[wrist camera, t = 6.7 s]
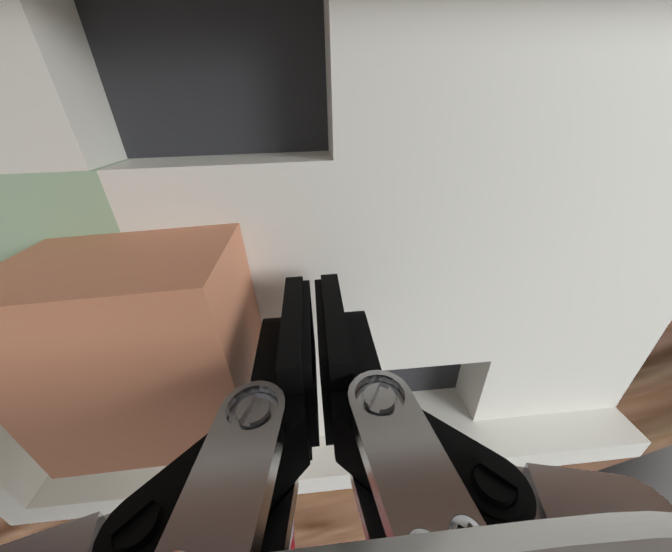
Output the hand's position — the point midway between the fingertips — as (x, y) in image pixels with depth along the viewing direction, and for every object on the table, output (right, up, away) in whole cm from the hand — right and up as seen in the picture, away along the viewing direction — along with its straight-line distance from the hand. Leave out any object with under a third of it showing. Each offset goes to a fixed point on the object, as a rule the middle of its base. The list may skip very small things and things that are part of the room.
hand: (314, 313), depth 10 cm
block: (-5, 0, +1) cm, 5 cm away
